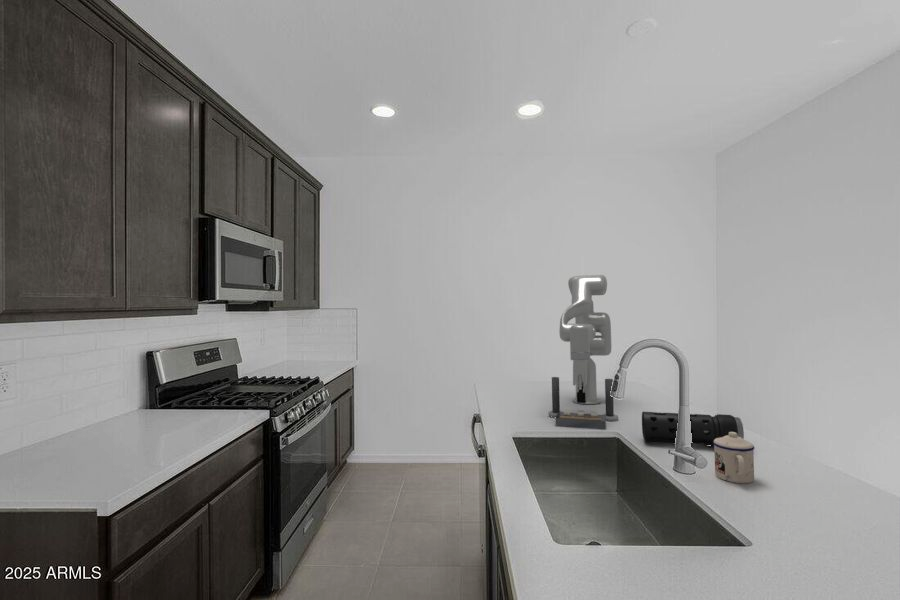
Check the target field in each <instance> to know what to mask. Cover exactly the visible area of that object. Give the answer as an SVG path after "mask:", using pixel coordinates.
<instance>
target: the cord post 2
mask: <svg viewBox="0 0 900 600" xmlns="http://www.w3.org/2000/svg"><path fill="white" fill-rule="evenodd" d="M612 382H613V383H614V379H613V378H604V395H605V397H604V399H605V413H603V414H601V415H606V422H618V421H619V415H618V414H615V412H614V411H615V408H614V407H615V406H614V405H615V404H614V396H613V397H611V396H610V391H611V386H612Z"/></svg>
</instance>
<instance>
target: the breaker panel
mask: <svg viewBox="0 0 900 600" xmlns="http://www.w3.org/2000/svg"><path fill="white" fill-rule="evenodd" d="M562 412H564V413H562ZM562 412H558V414H557V416H556V418H554V419H555V427H565V428H566V427H567V428H580V429H595V430H606V429H607V427H606V426H607V425H606V422H607V421H606V415H602V414H598V411H596V410H595V411H590V413H585V411H584V410H577V413H576V412H571V409H564V411H562Z"/></svg>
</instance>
